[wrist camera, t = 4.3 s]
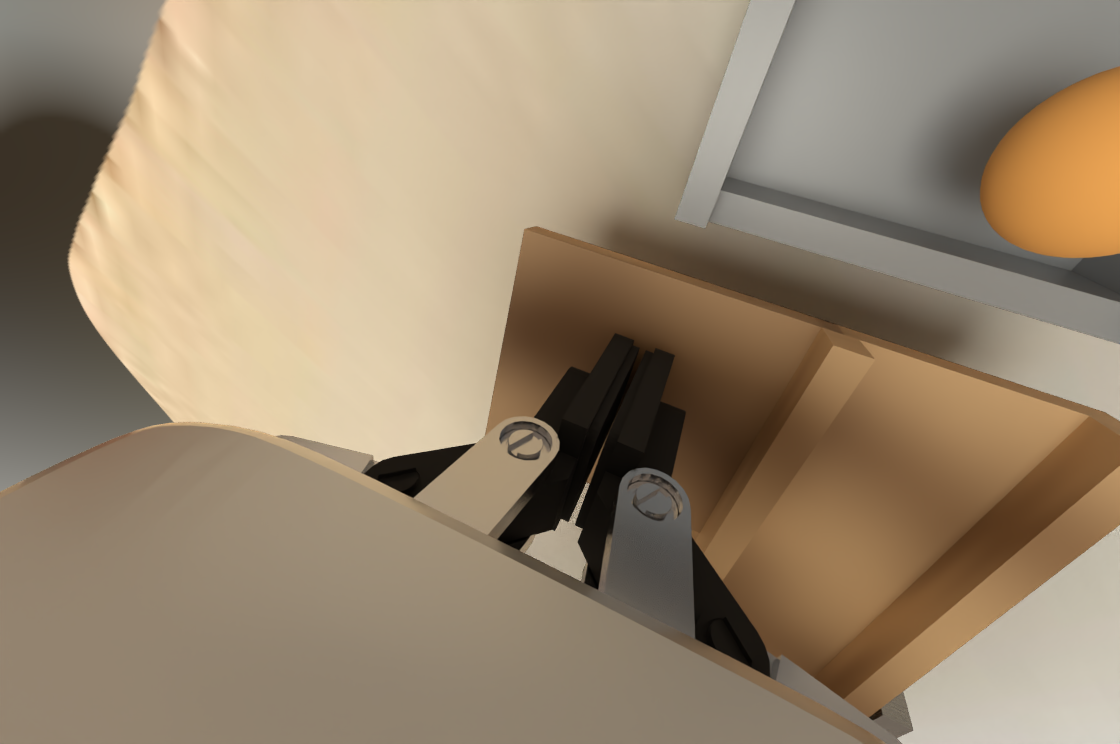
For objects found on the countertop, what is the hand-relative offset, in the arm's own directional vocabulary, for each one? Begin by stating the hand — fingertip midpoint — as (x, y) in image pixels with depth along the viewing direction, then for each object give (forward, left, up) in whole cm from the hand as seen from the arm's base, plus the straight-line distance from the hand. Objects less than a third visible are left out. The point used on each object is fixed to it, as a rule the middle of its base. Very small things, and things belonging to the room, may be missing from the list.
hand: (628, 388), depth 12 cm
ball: (+4, -9, -2) cm, 10 cm away
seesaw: (-8, 0, -2) cm, 9 cm away
